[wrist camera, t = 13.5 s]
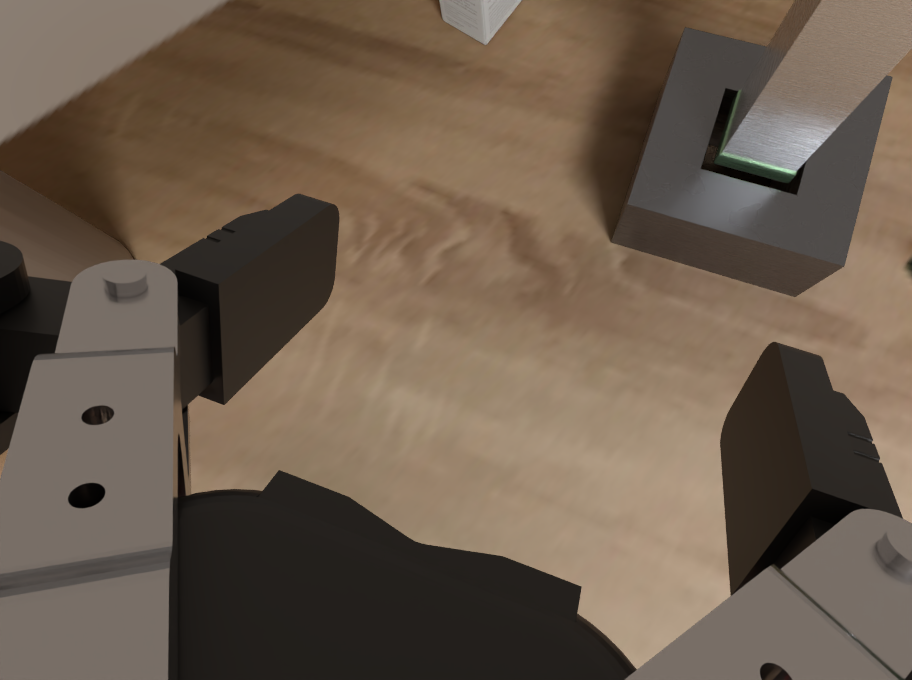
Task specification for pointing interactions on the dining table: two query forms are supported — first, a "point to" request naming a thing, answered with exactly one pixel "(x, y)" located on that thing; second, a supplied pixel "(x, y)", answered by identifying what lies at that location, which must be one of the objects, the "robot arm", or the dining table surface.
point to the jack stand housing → (736, 201)
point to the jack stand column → (812, 81)
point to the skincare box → (477, 16)
